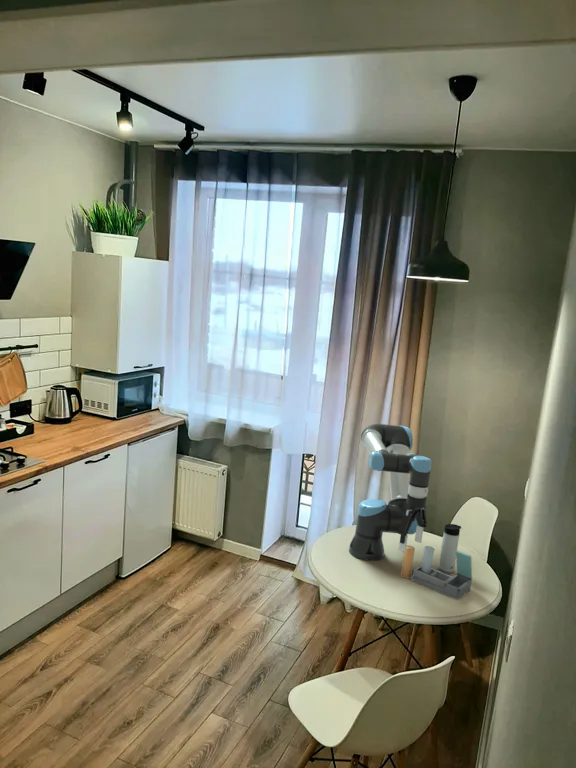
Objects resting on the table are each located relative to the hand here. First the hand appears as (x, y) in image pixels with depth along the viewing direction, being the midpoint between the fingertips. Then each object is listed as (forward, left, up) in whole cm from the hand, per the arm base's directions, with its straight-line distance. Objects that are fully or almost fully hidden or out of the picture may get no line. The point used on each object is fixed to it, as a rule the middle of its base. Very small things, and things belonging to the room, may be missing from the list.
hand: (410, 546), depth 229 cm
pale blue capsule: (+6, +4, -13) cm, 15 cm away
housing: (+13, +4, -13) cm, 19 cm away
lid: (+20, +8, -3) cm, 21 cm away
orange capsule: (0, 0, -13) cm, 13 cm away
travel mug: (+9, +19, -13) cm, 24 cm away
